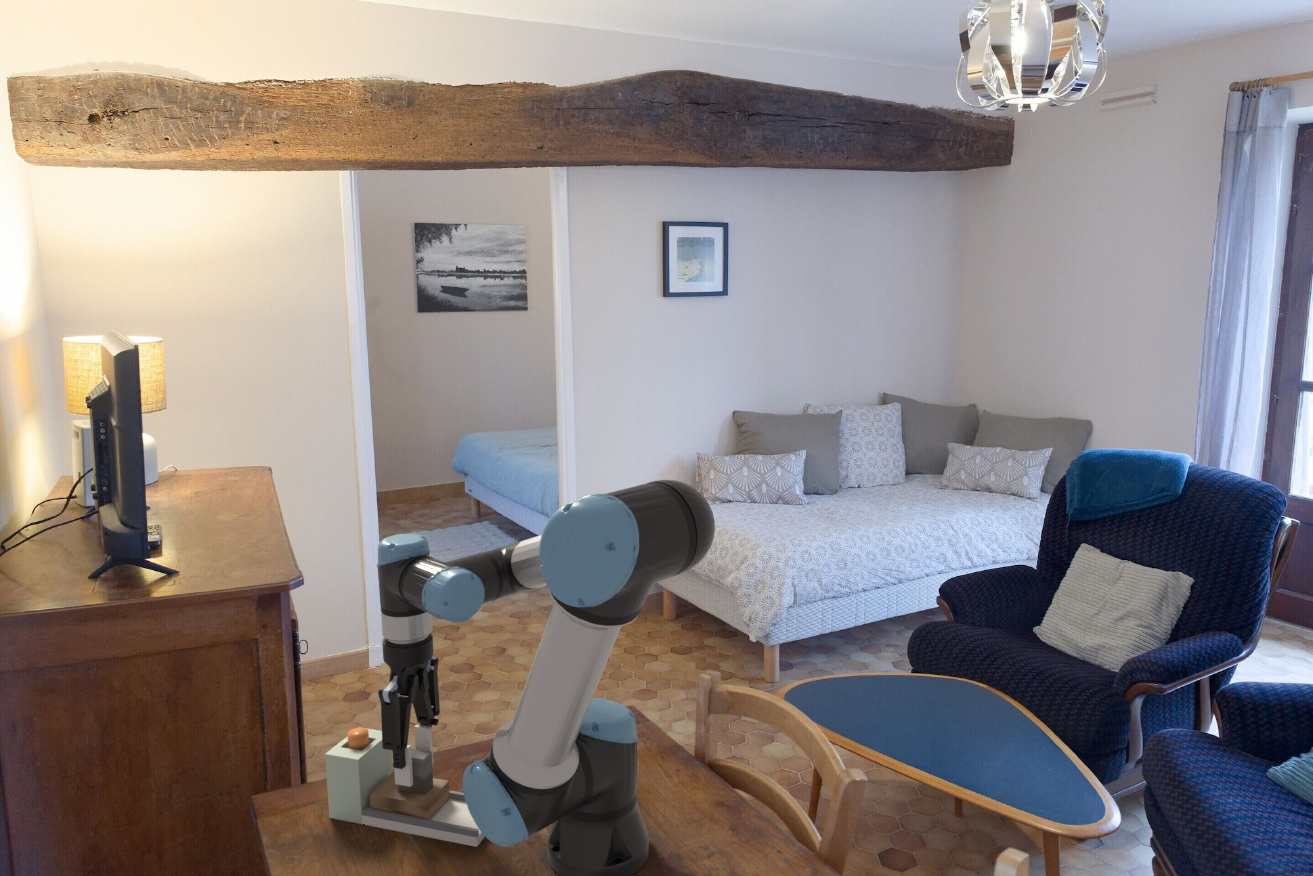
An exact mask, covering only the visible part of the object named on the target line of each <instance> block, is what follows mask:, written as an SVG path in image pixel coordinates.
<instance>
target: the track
mask: <svg viewBox="0 0 1313 876" xmlns="http://www.w3.org/2000/svg"><path fill="white" fill-rule="evenodd" d="M449 791H450V798H449V799H448V800H447V801H446V802H445V803H444V805H443V806H442V807H441V808H440V809H439V810H438V811H437V812H436V813H435V814H434V815H433V816H432V817H431V818H430V820H428V819H422V818H417V817H412V816H407V815H402V814H396V813H391V812H386V811H381V810H375V809H371V807H370V808H365V807H364V808H363V809H362V824H361V825H363V824H365V825H364V826H367V827H368V826H369V827H373V828H378V829H379V828H380V829H383V830H389V831H393V832H399V833H404V834H409V835H415V836H420V837H426V838H430V839H435V840H441V841H445V842H450V843H456V844H460V845H465V846H471V847H476V848H477V847H478V846H480V844H481V842H483V840H484V839H485V838H486V837H485V836H484V835H483V833H482V832H481V831H480V829H479V828H478V827H477V825H476V823H475V822H474V820H473V818H472V816H471V814H470V812H469V809H468V806H467V804H466V801H465V797H464V793H463V791H456V790H451V789H449Z"/></svg>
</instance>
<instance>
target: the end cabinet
mask: <svg viewBox="0 0 1313 876" xmlns="http://www.w3.org/2000/svg"><path fill="white" fill-rule="evenodd" d="M358 728H362V727H361V726H359V727H358ZM365 728H366V729H368V733H369V745H368V746H367V747H366V748H365V749H364V750H362V751H360V750H354V749H348V736H346V737H345V738H343V739H342V740H341V741H339V742H338V743H337V744H336V745H335V746H333V747H332V748H330V749H329V750H328V751H327V752H326V753H324V759H325V760H324V761H325V772H326V789H327V800H328V802H327V803H328V814H329V815H328V816H329V819H334V820H338V821H339V820H340V821H342V822H343V821H344V822H349V823H353V822H354V823H355V824H359V825H363V824H362V809H363V808H364V807H365V808H370V793H371V792H372V791H373V790H375V789H376V788H377V787H378V786H379V785H380V784H381V783H382V782H383V781H384V780H385V779H387V778H388V777H389V776H390V775H391V774H392V773H393V772H394V770H393V769H394V766H393V751H392V750H387V749H383V747H382V730H378V729H372V728H367V727H365Z"/></svg>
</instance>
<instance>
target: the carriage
mask: <svg viewBox="0 0 1313 876" xmlns="http://www.w3.org/2000/svg"><path fill="white" fill-rule="evenodd" d="M411 755H412V774H413V785H412V786H411V787H409V786H403V785H398V784H395V774H394V771H393V773H392V774H391V775H390V776H389V777H388V778H387V779H385V780H384V781H383V782H382V783H381V784H380V785H379V786H378V787H377V788H376V789H375V790H373V791H372V792H371V793H370V807H371V809H375V810H381V811H386V812H391V813H396V814H402V815H407V816H412V817H417V818H422V819H428V820H430V818H431V817H432V816H433V815H434V814H435V813H436V812H437V811H438V810H439V809H440V808H441V807H442V806H443V805H444V803H445V802H446V801H447V800H448V799H449V798H450V791H451V790H450V780H447V779H443V778H442V779H441V778H437V777H436V778H434V776H433V775H434V773H433V772H434V771H433V769H434V768H433V765H432V752H429V751H423V750H417V749H416V748H411ZM449 790H450V791H449Z"/></svg>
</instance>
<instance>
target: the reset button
mask: <svg viewBox="0 0 1313 876" xmlns="http://www.w3.org/2000/svg"><path fill="white" fill-rule="evenodd" d="M366 728H367V727H361V728H359V727H355V728H353V729H350V730H349V731H348V732H347V736H348V749H354V750H360V751H362V750H364V749H365V748H366V747H367V746H368V745H369V733H368V729H369V728H367V729H366ZM347 736H346V737H347Z"/></svg>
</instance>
